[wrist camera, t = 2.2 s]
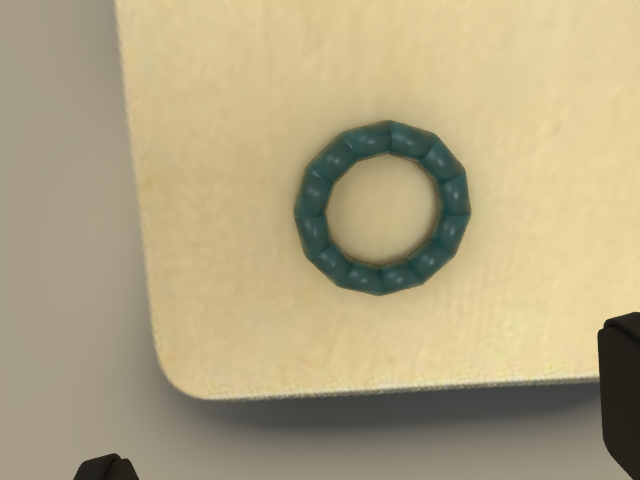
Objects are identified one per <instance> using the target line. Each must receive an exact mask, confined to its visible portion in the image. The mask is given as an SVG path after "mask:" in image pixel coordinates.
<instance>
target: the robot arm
mask: <svg viewBox="0 0 640 480" xmlns="http://www.w3.org/2000/svg"><path fill="white" fill-rule="evenodd" d="M598 356H599V374H600V391H601V411H602V430H603V440H604V443H605V446H606V447H607V450H608V451H609V453H610V455H611V456H612V457H613V458H614V459H615V460H616V462H617V463H618V464H619V465H620V466H621V467H622V468H623V469H624V470H625V471H626V472H627V474H628V475H629V476H630V477H631V478H632V479H633V480H640V312H633V313H629V314H625V315H622V316H618V317H614V318H611V319H608V320H606V321H605V323H604V327H603V329H601V330H599V332H598ZM73 480H139V478H138V476H137V474H136V472H135V470H134V468H133V466H132V464H131V462H130V460H128V459H121V458H120V456H119V455H117V454H114V453H113V454H109V455H106V456H102V457H98V458H94V459H91V460H87V461H85V462H83V463H82V464H81V466H80V467H79V469H78V471H77V473H76V475H75V477H74V479H73Z"/></svg>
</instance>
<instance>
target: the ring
mask: <svg viewBox="0 0 640 480" xmlns="http://www.w3.org/2000/svg"><path fill="white" fill-rule="evenodd" d="M385 154H391V155H394V156H398V157H401V158H405V159H408V160H412V161H415V162H417V163H418V164H419V165H420V166H421V168H422V169H423V170H424V171H425V172H426V173H427V174H428V176H429V177H430V178H431V179H432V180H433V181H434V182H435V186H436V192H437V198H438V204H439V210H440V212H439V214H438V217H437V220H436V222H435V225H434V228H433V230H432V233H431V236H430V239H429V240H427V241H426V242H425V243H424V244H423V245H422V246H421V247H420V248H419V249H418V250H416V251H415V252H414V253H413V254H412V255H411V256H410V257H409V258H408V259H405V260H401V261H397V262H393V263H390V264H386V265H382V266H375V265H371V264H367V263H363V262H359V261H355V260H352V259H350V258H349V257H348V256H347V255H346V254H345V253H344V252H343V251H342V250H341V249H340V248H339V247H338V246H337V245H336V244H335V243H334V242H333V241H332V238H331V233H330V229H329V225H328V221H327V217H326V210H327V207H328V203H329V200H330V197H331V193H332V190H333V187H334V184H335V183H336V182H337V181H338V180H339V179H340V178H341V177H342V176H343V175H344V174H345V173H346V172H347V171H348V170H349V169H350V168H352V167H353V166H354V165H355V164H356V163H357V162H358V161H362V160H366V159H370V158H374V157H377V156H381V155H385ZM294 217H295V221H296V225H297V228H298V232H299V236H300V239H301V243H302V247H303V250H304V254H305V256H306V258H307V259H308V260H309V261H310V262H311V263H313V264H314V265H315V266H316V267H317V268H318V269H319V270H320V271H321V272H322V273H323V274H324V275H325V276H326V277H327V278H328V279H330V280H331V281H332V282H333V283H334V284H335V285H336V286H338V287H341V288H345V289H349V290H354V291H358V292H362V293H367V294H371V295H375V296H383V295H387V294H391V293H395V292H398V291H402V290H406V289H409V288H413V287H417V286H420V285H422V284H424V283H425V282H426V281H427V280H428V279H430V278H431V277H432V276H433V275H434V274H435V273H436V272H437V271H439V270H440V269H441V268H442V267H443V266H444V265H445V264H446V263H448V262H449V261H450V260H451V259H452V258H453V257H454V256H455V255H456V253H457V250H458V248H459V245H460V243H461V240H462V237H463V235H464V232H465V230H466V227H467V225H468V222H469V219H470V217H471V205H470V198H469V191H468V184H467V177H466V171H465V169H464V167H463V166H462V164H461V163H460V162H459V161H458V160H457V158H456V157H455V156H454V155H453V154H452V153H451V151H450V150H449V149H448V148H447V147H446V145H445V144H444V143H443V142H442V141H441V140H440V138H439V137H438V136H437V135H435V134H434V133H432V132H429V131H425V130H422V129H419V128H415V127H412V126H409V125H405V124H402V123H399V122H395V121H391V120H388V121H383V122H379V123H375V124H371V125H367V126H364V127H360V128H356V129H352V130H348V131H345V132H342V133H341V134H339V135H338V136H337V137H336V138H335V139H334V140H333V141H332V142H331V143H330V144H329V145H328V146H327V147H326V148H325V149H324V150H323V151H322V152H321V153H320V154H319V155H318V156H317V157H316V158H315V159H314V160H313V161H312V162H311V163H310V164H309V165H308V166H307V168H306V170H305V173H304V177H303V180H302V184H301V187H300V191H299V194H298V198H297V201H296V205H295V209H294Z"/></svg>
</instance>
